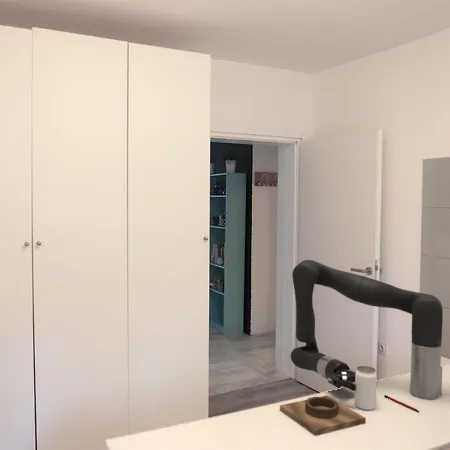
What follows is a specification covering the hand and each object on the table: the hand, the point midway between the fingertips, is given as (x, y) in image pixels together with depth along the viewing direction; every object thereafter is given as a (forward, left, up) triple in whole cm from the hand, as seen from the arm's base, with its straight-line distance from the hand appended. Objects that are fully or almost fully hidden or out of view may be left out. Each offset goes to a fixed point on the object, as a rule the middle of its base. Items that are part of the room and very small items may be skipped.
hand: (365, 385), depth 156 cm
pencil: (-12, +4, -7) cm, 14 cm away
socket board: (+17, 0, -7) cm, 18 cm away
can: (0, 0, -7) cm, 7 cm away
